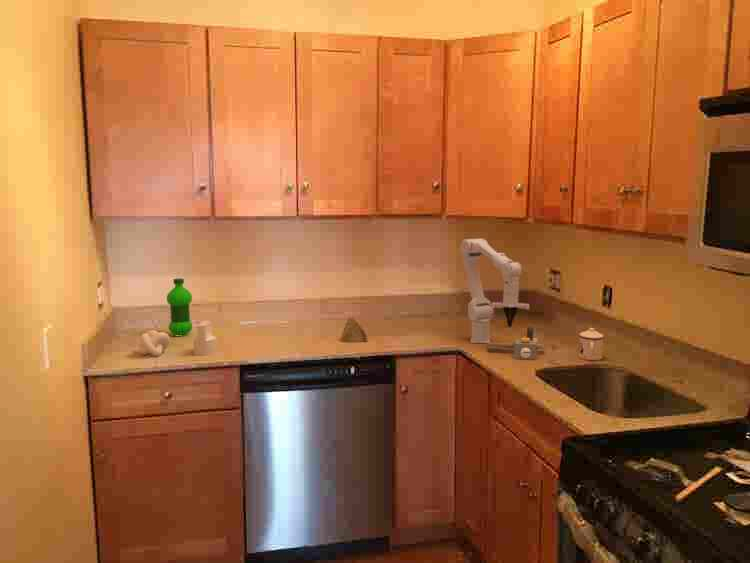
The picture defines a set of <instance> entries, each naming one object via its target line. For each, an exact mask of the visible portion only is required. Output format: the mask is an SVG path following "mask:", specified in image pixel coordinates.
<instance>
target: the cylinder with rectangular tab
mask: <svg viewBox="0 0 750 563" xmlns="http://www.w3.org/2000/svg"><path fill="white" fill-rule="evenodd" d="M196 327H197V336H194V337H193V338H192V343H193V354H194V356H199V357H200V356H201V357H207V356H214V355H216V354H218V340H217V336H215V335H213V334H212V333H213V332H212V320H203V321H202V322H200V323H199V324H198V325H197V326H196Z"/></svg>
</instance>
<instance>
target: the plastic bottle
mask: <svg viewBox="0 0 750 563" xmlns="http://www.w3.org/2000/svg"><path fill="white" fill-rule="evenodd" d="M184 279H185V278H174V279H173V284H174V287H173V288H172V289H171V290H170V291H169V292H168V293H167V295H166V301H167V304H168V305H169V306H170V307H169V308H170V322H169V325H168V329H169V331H170V332H171V334H173V335H174V336H175V335H179V336H178V337H181V336H180V335H185V336H187V335H188V334H189V333H190V332H191V331H192V329H193V323H192V321H191V320H190V318H191V317H190V304H191V303H192V300H193V295H192V293H191V292H190V291H189V290H188V289H187V288H185V287H184V286H183V285H184V283H185V280H184ZM186 334H187V335H186Z"/></svg>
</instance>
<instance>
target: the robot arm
mask: <svg viewBox="0 0 750 563" xmlns="http://www.w3.org/2000/svg"><path fill="white" fill-rule="evenodd" d="M459 250H460V253H461V257H462V261H463V267H464V269H465V270H464V271H465V274H466V279H467V283H468V289H469V292H470V296H471V300H470V302H469V303H468V304H467V308H468V310H467V312H468V314H467V315H468V318H469V319H470V321H471V336H470V343H471V344H472V343H473V344H475V343H476V344H488V343H489V342H491V341H490V340H491V339H490V321H492V320H491V319H492V318H493V317H494V314H495V313H494V311H495V310H494V309H495V308H496V309H503V312H504V314H505V317H506V321H507V327H508V328H509V327H512V324H513V321H514V318H515V316H516V315H517V312H518V309H520V310H530V304H529V303H523V302H519V288H520V286H519V285H520V283H519V282H520V276H522V274H523V266H522V264H521V263H520V262H519V261H513V259H511V258H509V257H508V256H506V254H505V253H504V252H497V251H495V250H494V249H493V248H492V247H491V246H490V245H489V244H488V240H486V239H484V238H483V237H480V238H470V239H469V238H464V239H463V240H462V242H461V244H460V246H459ZM482 255H484V256H485V257H487V258H488V259H490V260H491V263H492V265H493V266H495V267H496V268H497V269H498V270H499V271H500V272H501V275H502V280H503V297H502V298H503V299H502V301H500V302H498V301H497V302H491V300H489V299H488V298H487V297H485V293H484V289H483V284H482V281H481V278H480V271H479V268H478V264H477V262H478V260H479V259H480V258H481V257H482Z"/></svg>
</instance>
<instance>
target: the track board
mask: <svg viewBox="0 0 750 563" xmlns="http://www.w3.org/2000/svg"><path fill="white" fill-rule="evenodd" d="M487 352H488V353H495V352H496V353H501V354H514V347H495V346H489V343H487ZM541 354H544V355H545V354H546V352H545V348H544V346H543V345H542V348H537V349H536V355H541Z"/></svg>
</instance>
